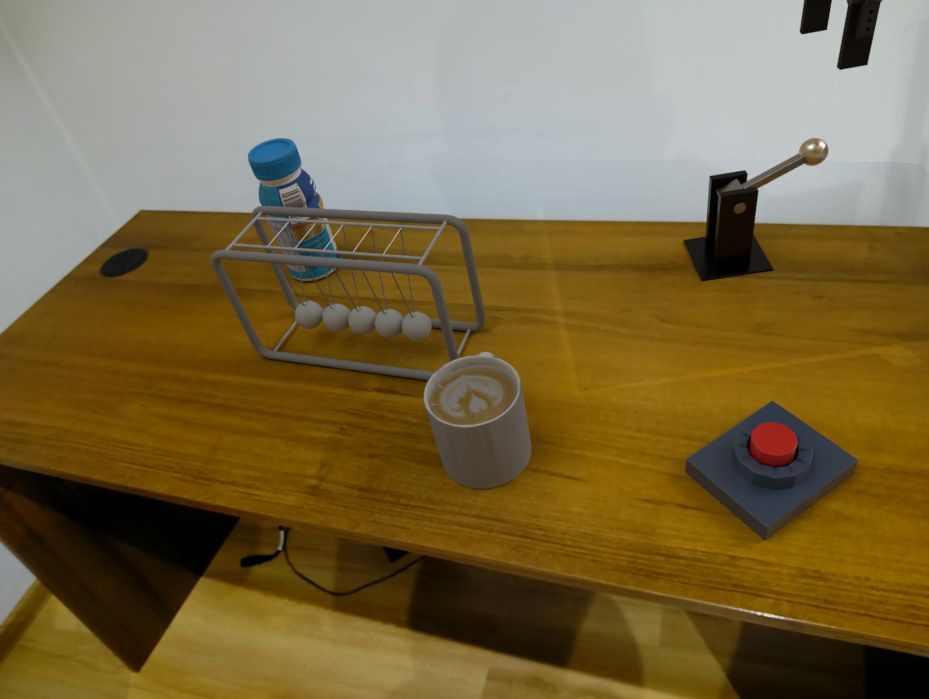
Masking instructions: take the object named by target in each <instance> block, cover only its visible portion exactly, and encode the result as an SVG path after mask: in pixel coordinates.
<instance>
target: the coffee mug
mask: <svg viewBox="0 0 929 699" xmlns="http://www.w3.org/2000/svg"><path fill="white" fill-rule="evenodd" d="M434 372H435V373H434V374H433V375H432V376H431V378H430V379H429V381H428V380H427V381H426V382H427V383H426V384H425V387H424V391H423V404H424V407H425V408H424V409H425V411H426V414H427V417H428V421H429V424H430V427H431V430H432V434H433V437H434V441H435V443H436V447H437V450H438V453H439V457H440V459H441V463H442V466H443V469H444V471H445V473H446V474H447V475H448V476H449V477H450V478H451V479H452V481H454V482H455V483H457V484H459V485H461V486H464V487H467V488H471V489H477V490H487V489H494V488H497V487H500V486H503V485H506V484H508V483H510V482H511V481H513V480H514V479H516V478H517V477H519V476H520V474H522V473H523V471H524V470H525V469H526V468H527V466H528V464H529V462H530V459H531V457H532V450H533V448H532V440H531V434H530V428H529V422H528V417H527V410H526V405H525V404H526V403H525V398H524V393H523V387H522V382H521V378H520V375H519V373H518V372H517V370H516V369H515V368H514V367H513V366H512V365H511V364H510V363H509V362H507V361H506V360H503V358H502V359H501V358H499V357H496V356H495V355H494V354H493V353H492V352H489V351H481V352H479V353H478V354H475V355H466V356H463V357H459V359H456V360H453V361H451V362H450V361H449V362H447V363H445V364H444V365H442V366H441V367H440V368H438V369H437V370H436V371H434Z"/></svg>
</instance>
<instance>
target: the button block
mask: <svg viewBox="0 0 929 699" xmlns="http://www.w3.org/2000/svg"><path fill="white" fill-rule="evenodd" d="M763 423H779V424H782V425H784V426H786V427H788V428H789V429H791V430H792V431H793V432H794V434H795V435H796V437H797V447H796V452H795V456H794V458H793V460H792V461H791V462H790V463H788V464H787V465H784V466H780V467H771V466H767V465H764V464H762V463H760V462H758V461H757V460H756V459H755V458H754V457H753V456H752V454H751V452H750V440H751V434H752V432H753V430H754V429H755V428H756V427H757V426H759V425H761V424H763ZM858 462H859V459H858V458H857V457H855V456H853V455H852V454H851V453H850V452H848V451H847V450H845V449H844V448H842V447H840V446H839V445H838V444H836V443H835V442H833V441H832V440H830V439H829V438H828V437H827V436H825V435H824V434H822V433H820V432H819V431H818V430H816V429H814V428H813V427H812V426H810V425H808V423H806V422H805V421H803V420H801V419H800V418H799V417H798V416H796V415H794V414H793V413H791V412H790V411H788V410H787V409H785V408H784V407H783V406H781V405H780V404H779V403H777V402H775V401H774V400H771V401H769V402H767V403H766V404H765V405H763V406H761V408H759V409H757V410H756V411H754V412H753V413H751V414H749V416H747V417H746V418H744V419H743V420H741V421H740V422H738V423H737V424H735V425H734V426H733V427H731V428H729V429H727V431H725V432H724V433H722V434H721V435H719V436H717V438H715V439H713V440H712V441H710V442H709V443H707V444H706V445H704V446H703V447H702V448H700V449H699V450H698V451H696V452H694V453H693V454H692V455H690V456H688V457H687V458H686V459H685V469H684V470H685V474H686V475H688V476H689V477H690V478H691V479H693V481H695V482H696V483H697V484H698V485H699V486H700V487H702V488H703V490H705V491H706V492H707V493H709V494H710V495H711V496H712V497H713V498H715V500H717V501H718V502H719V503H720V504H721V505H722V506H723V507H725V509H727V510H728V511H729V512H731V513H732V514H733V515H734V516H735V517H736V518H738V519H739V520H740V521H741V522H742V523H743V524H744V525H746V527H748V528H749V529H750V530H751V531H753V533H755V534H756V536H758V537H760V538H761V540H763V541H764V542H766V541H767V540H769V539H770V538H771V537H773V536H774V535H775V534H777V533H778V532H779V531H780V530H782V529H783V528H785V527H786V526H787V525H788V524H790V523H791V522H792V521H793V520H795V519H796V518H798V517H799V516H800V515H802V514H803V513H804V512H806V511H807V510H808V509H810V507H812V506H814V505H815V504H816V503H817V502H818V501H820V500H821V499H823V498H824V497H825V496H827V495H828V494H829V493H830V492H832V491H833V490H835V489H836V488H838V486H840V485H841V484H843V482H845V481H846V480H848V479H849V478H850V477H852V476H853V475H854V474H855V472H856V468H857V465H858Z"/></svg>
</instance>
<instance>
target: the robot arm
mask: <svg viewBox="0 0 929 699" xmlns="http://www.w3.org/2000/svg"><path fill="white" fill-rule="evenodd" d="M882 2H883V0H846V3H847V8H846V13H845V20H844V25H843V31H842V36H841V42H840V46H839V51H838V57H837V63H836V68H837V69H838V70H839V71H842V70H843V71H844V70H847V69H853V68H859V67H865V66H868V65H869V60H870V54H871V50H872V46H873V42H874V35H875V31H876V27H877V22H878V17H879V12H880V7H881V3H882ZM832 3H833V0H803V6H802V10H801V11H802V13H801V19H800V24H799V26H800V27H799V33H800V35H808V34H813V33H818V32H823V31H827V30H828V26H829V20H830V14H831V7H832Z"/></svg>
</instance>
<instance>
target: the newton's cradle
mask: <svg viewBox="0 0 929 699" xmlns="http://www.w3.org/2000/svg"><path fill="white" fill-rule="evenodd" d="M265 215H276V216H295V217H314V218H327V219H333V220H328V221H320V220H302V219H284V218H265ZM263 216H264V217H263ZM250 218H251V221H249V223H248V224H247V225H246V226H245V227H244V229H242V231H240V232H239V234H238V235H237V236H236V237H235V238H234V239H233V240H232V242H230V243H229V245H227V247H226V248H225V249H218V250H215V251H214V252H213V253H212V254H211V257H210V265H211V267H212V269H213V271H214V273H215V275H216V277H217V279H218V281H219V283H220V285H221V287H222V289H223V290H224V292H225V295H226V297H227V298H228V300H229V303H230V304H231V306H232V308H233V310H234V313H235V315H237V318H238V320H239V322H240V325H241V326H242V328H243V331H244V332H245V335H246V336H247V338H248V340H249V342H250V344H251V346H252V347H253V349H254V350H255V351H256V352H257V354H259V355H261V356H262V357H264V358H266V359H270V360H276V361H284V362H289V363H296V364H297V363H298V364H305V365H313V366H320V367H328V368H334V369H341V370H349V371H356V372H364V373H371V374H376V375H377V374H378V375H385V376H393V377H399V378H406V379H414V380H421V381H427V382H428V381H429V379H430V378H431V376H432V375H433V374H434V373H435V372H436V371H429V370H422V369H414V368H405V367H398V366H391V365H385V364H384V365H383V364H376V363H368V362H360V361H353V360H347V359H337V358H331V357H324V356H315V355H308V354H299V353H293V352H285V351H278V350H279V349H280V348H281V346H282V345H283V343H284V342H285V340H287V338H288V337H289V335H290V334H291V332H292V331H293V329H294V328H295V327H296V325H297V324H298V326H300V327H301V328H304V329H307V330H313V329H315V328H317V327H319V326H320V325H321V324H322V323H323V325H324V327H325V328H326V329H328V331H330V332H334V333H341V332H343V331H346V330H347V329H348V328H350V330H351V331H352V332H353V333H355V335H358V336H359V335H360V336H367V335H369V334H371V333H373V332H374V331H376V333H377V334H378V335H379V336H381V338H385V339H393V338H396V337H399V335H400V334H401V333H403V335H404V336H405V338H407V340H409V341H412V342H422V341H424V340H426V339H427V338H428V337H429V336H430V334H431V332H432V329H433V328H435V329H441V331H442V336H443V340H444V342H445V344H444V345H445V347H446V351H447V355H448V358H449V359H448V360H449V362H451V361H453V360H456V359H459V358H460V354H461V353H462V350H463V348H464V346H465V344H466V341H467V339H468V337H469V335H470V333H471V332H479V331H481V330H482V329H483V328H484V327H485V325H486V323H487V316H486V312H485V305H484V302H483V296H482V291H481V286H480V281H479V276H478V271H477V266H476V265H477V264H476V261H475V256H474V252H473V246H472V242H471V236H470V231H469V229H468V226H467V225H466V223H465V222H464V221H463V220H461V219H460V218H459V217H457V216H455V215H453V214H452V215H451V214H444V213H443V214H442V213H422V212H403V211H402V212H400V211H383V210H381V211H379V210H362V209H361V210H360V209H359V210H358V209H357V210H356V209H339V208H324V209H319V208H298V207H277V206H262V205H260V206H259V205H258V206H256V207H255V208H253V210H252V212H251V216H250ZM334 219H335V220H334ZM336 220H353V221H371V222H353V221H336ZM262 221H264V222H265V221H266V222H267V221H280V222H288V223H287V224H288V227H289V232H290V236H291V240H292V245H293V248H290V247H279V246H273V244H272V243H273V242H274V240H276V237H277V236H278V234H279V233H280V232H281V231H282V230H283V228H284V227H285V226H286V225H287V224H286V225H285V226H284V227H283V228H282V230H281V231H280V232H279V233H278V234H277V235H276V237H275V236H274V238H273V239H272V240H270V238H269V235H268V233H267V230H266V228H265V226H264V224H263V222H262ZM372 221H374V223H373V222H372ZM289 222H297V223H315V224H314V225H315V230H316V234H317V238H318V242H319V247H320V250H318V249H304V248H296V247H297V246H298V245H299V244H300V242H301V241H302V240H303V239H304V237H305V236H306V235H307V234H308V233H309V231H310V230H311V229H312V228H313V226H314V225H313V226H312V228H311V229H310V230H309V231H308V232H307V234H306V235H305V236H304V237H303V239H302V240H301V241H300V242H299V244H298V245H297V246H296V247H295V248H294V243H293V239H292V234H291V230H290V226H289ZM375 222H388V223H375ZM389 222H390V223H391V222H393V223H394V224H393V223H392V224H390V223H389ZM395 223H407V224H395ZM408 223H409V225H408ZM410 223H412V224H429V225H430V226H428V225H427V226H426V225H410ZM316 224H329V225H333V226H335V225H336V226H340V228H339V229H338V230H337V232H336V233H335V234H334V235H333V238H334V239H335V237H336V236H337V235H338V233H339V232H340V230H341V229H342V234H343V239H344V243H345V247H346V251H345V250H339V251H332V250H325V249H326V247H327V246H328V245H329V243H330V242H331V241H332V239H333V238H332V239H331V241H330V242H329V243H328V245H327V246H326V247H325V248H324V250H322V249H321V245H320V241H319V237H318V232H317V228H316ZM431 224H432V225H440V226H431ZM252 226H253V228H254V229H255V232H256V234H257V236H258V238H259V241H260V243H261V244H246V243H238V241H239V240H240V239H242V237H243V236H244V235H245V234H246V233H247V232H248V230H250V229H251V227H252ZM344 226H350V227H351V226H352V227H353V226H354V227H369V228H368V230H367V231H366V232H365V234H364V235H363V237H362V238H361V240H359V243H358V244H357V245H356V247H355V248H354V249H353V251H349V246H348V241H347V237H346V232H345V228H344ZM446 226H451V227H453V229H456V230H457V232H458V234H459V240H460V243H461V244H460V245H461V248H462V254H463V258H464V264H465V268H466V272H467V277H468V282H469V287H470V292H471V297H472V300H473V306H474V310H475V315H476V321H475V322H467V321H455V320H451V319H450V316H449V310H448V307H447V303H446V299H445V294H444V291H443V287H442V283H441V281H440V278H439V276H438V275H437V274H436V273H435V271H434V270H432V269H431V268H429V267H427V266H425V265H423V264H424V262H425V260H426V259H427V258H428V256H429V254H430V252H431V251H432V249H433V247H434V245H435V244H436V242H437V240H438V239H439V237H440V236H441V234H442V233H443V231H444V229H445V227H446ZM373 228H385V229H387V228H388V229H398V230H397V232H396V234H395V235H394V237H393V239H392V240H391V241H390V243H389V244H388V246H387V247H386V249H385V251H384V252H383V253H377V248H376V247H377V246H376V242H375V236H374V234H373V233H374V232H373ZM402 229H405V230H406V229H407V230H423V231H424V230H426V231H437V232H436V233H435V235H434V236H433V239H432V240H431V242H430V244H429V245H428V247H427V248H426V250H425V251H424V253H423V255H422V256H417V255H416V256H415V255H414V256H413V255H406V251H405V244H404V238H403V232H402ZM369 232H371V238H372V244H373V248H374V253H371V252H359V251H356V249H357V248H358V247H359V246H360V244H361V242H362V241H363V240H364V239H365V237H366V236H367V234H368V233H369ZM399 233H400V239H401V245H402V251H403V255H402V254H401V255H400V254H386V252H387V250H388V249H389V248H390V246H391V245H392V243H393V241H394V240H395V239H396V237H397V236H398V234H399ZM232 248H242V249H243V248H246V249H258V250H259V249H260V250H264V252H260V251H245V250H235V249H234V250H232ZM281 250H284V251H294V253H295V255H287V254H282V253H276V252H275V251H281ZM295 251H297V253H298V255H296V252H295ZM299 252H312V253H321V255H322V257H313V256H301V255H300V254H299ZM322 253H325V255H326V257H323V254H322ZM327 254H339V255H340V256H348V258H341V259H340V258H329V257H328V256H327ZM351 256H353V257H354V258H355V259H353V258H352V259H351ZM358 257H368V258H375V260H366V259H365V260H364V259H358ZM378 258H379V259H381V258H383V259H384V261H381V260H380V261H379V259H378ZM388 259H394V260H404V262H390V261H388ZM221 260H228V261H240V262H241V261H243V262H252V263H266V264H270V266H271V268H272V271H273V272H274V275H275V277H276V279H277V280H276V281H277V282H278V284H279V287H280V289H281V291H282V293H283V295H284V298H285V300H286V302H287V304H288V306H290V307H291V308H292V309H293V310H294V319H295V320H294V322H293V323H292V324H291V326H290V327H289V329H288V330H287V331H286V333H285V334H284V336H283V337H282V338H281V339H280V341H279V343H278V344H277V345H276V346H275V347H274V349H273V350H272V349H269V348H267V347H266V346H264V345H263V344H262V342H261V340H260V338H259V336H258V334H257V332H256V330H255V328H254V326H253V324H252V323H251V320H250V318H249V316H248V314H247V312H246V310H245V308H244V306H243V304H242V302H241V300H240V298H239V296H238V294H237V292H236V290H235V287H234V286H233V284H232V282H231V280H230V278H229V276H228V274H227V272H226V270H225V268H224V266H223V264H222V262H221ZM407 260H410V261H419V262H418V263H408V262H407ZM287 264H288V265H297V266H298V271H299V275H300V279H301V281H300V283H301V284H300V285H301V288H302V292H303V296H304V300H305V301H303V300H302V299H301V297H300V295H299V294H298V292H297V291H296V289H295V287H294V286H293V284H292V282H291V281H290V279H289V277H288V276H287V273H286V272H285V271H284V269H283V267H282V265H287ZM299 265H301V266H306V268H307V270H308V271H309V269H308V267H307V266H313V267H324V268H325V272H326V280H327V285H328V288H329V293H330V297H331V301H332V304H330V302H329V300H328V299H327V297H326V296H325V294H324V292H323V290H322V288H321V287H320V285H319V284H318V282H317V280H315V279H314V277H313V276H312V274H311V272H310V271H309V273H310V275H311V276H312V278H313V280H314V283H315V285H316V287H317V289H318V290H319V291H320V293H321V295H322V296H323V298H324V300H325V301H326V303H327V305H328V306H326V307H322V306H321V305H320V304H319V303H318V302H317V301H313V300H307V297H306V292H305V288H304V283H303V281H302V278H301V274H300V270H299ZM326 268H333V269H334V273H335V275H336V276H337V279H338V280H339V282H340V284H341V285H342V287H343V290H344V291H345V292H346V294H347V296H348V298H349V300H350V302H351V304H352V305H353V309H352V310H351V309H349V308H348V307H347V306H346V305H344V304H342V303H335V302H334V301H335V300H334V296H333V293H332V289H331V284H330V280H329V279H330V278H329V275H327V271H326ZM335 268H337V269H339V270H351V275H352V279H353V285H354V289H355V294H356V299H357V304H358V306H356V304H355V303H354V301H353V299H352V297H351V295H350V294H349V292H348V289H347V288H346V286H345V284H344V283H343V281H342V279H341V278H340V275H339V274H338V272H337V269H336V270H335ZM354 271H361V272H362V274H363V277H364V278H365V280H366V282H367V284H368V286H369V288H370V291H371V292H372V294H373V296H374V298H375V299H376V302H377V304H378V306H379V308H380V309H381V311H379V312H375V311H374V310H373V309H372V308H370V307H368V306H366V305H361V303H360V298H359V294H358V289H357V285H356V279H355V274H354ZM365 272H375V273H376V272H377V273H378V275H379V280H380V286H381V291H382V296H383V302H384V306H385V309H383V307H382V304H381V303H380V300H379V299H378V296H377V295H376V292H375V291H374V289H373V287H372V285H371V283H370V281H369V278H368V277H367V275H366V273H365ZM381 273H387V274H388V273H389V274H391V276H392V278H393V280H394V282H395V285H396V286H397V288H398V291H399V293H400V295H401V298H402V300H403V301H404V303H405V304H404V305H405V306H406V308H407V310H408V312H409V313H407V314H406V315H402V314H401V313H400V312H399V311H398V310H396V309H393V308H388V306H387V302H386V296H385V295H386V294H385V290H384V285H383V280H382V274H381ZM394 274H398V275H399V274H402V275H406V276H407V281H408V287H409V294H410V299H411V305H412V311H411V310H410V307H409V305H408V303H407V301H406V299H405V297H404V296H405V295H404V294H403V292H402V290H401V288H400V286H399V284H398V281H397V279H396V277H395V275H394ZM410 275H412V276H418V277H419V276H420V277H422V278H424V279H425V280H426V281H427V282H428V283H429V286H430V289H431V294H432V297H433V300H434V304H435V308H436V309H435V310H436V312H437V316H438V319H437V318H430V317H429V316H428V315H427V314H425V313H424V312H422V311H415V310H416V309H415V304H414V298H413V293H412V292H413V291H412V287H411V281H410ZM290 286H291V287H290ZM291 288H292V290H293V291H292V290H291ZM293 292H294V293H295V295H296V296H297V299H298V300H299V301H300V302H299V301H297V300H296V298H295V296H294V293H293ZM453 331H461V332H465V335H464V337H463V338H462V341H461V342H460V345H459V347H458V349H457V344H456V340H455V336H454V332H453Z"/></svg>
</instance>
